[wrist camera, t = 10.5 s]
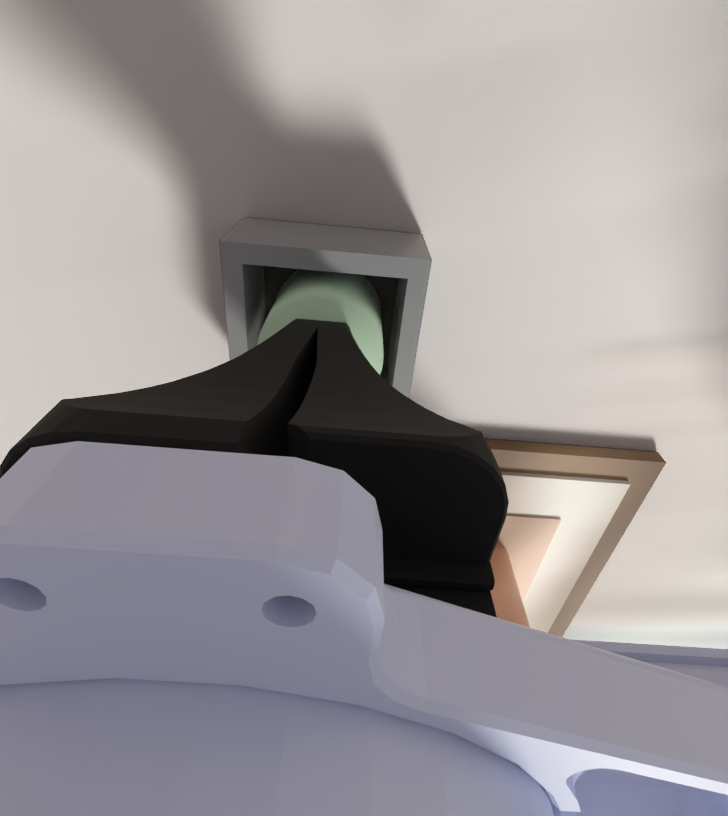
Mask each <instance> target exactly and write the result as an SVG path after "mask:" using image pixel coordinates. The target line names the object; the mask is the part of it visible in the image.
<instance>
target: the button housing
mask: <svg viewBox="0 0 728 816" xmlns="http://www.w3.org/2000/svg"><path fill="white" fill-rule="evenodd" d="M219 243H220V255H221V266H222V277H223V289H224V300H225V311H226V323H227V334H228V345H229V357H230V360H232V359H234V358H236V357H238V356H240V355H242V354H243V353H245V352H247V351H248V350H250V349H252V348H254V347H255V346H257V343H258V338H259V335H260V332H261V329H262V327H263V325H264V323H265V321H266V313H265V286H264V266H271V267H282V268H293V269H304V270H315V271H327V272H338V273H349V274H360V275H371V276H383V277H394V278H399V280H398V287H397V295H396V303H395V310H394V318H393V326H392V334H391V341H390V349H389V357H388V364H387V371H381V373H380V376H382V377H383V378H384V379H385V380H386V381H387V382H388V383H389V384H390V385H391V386H393V387H394V388H395V389H396V390H398V391H399V392H400V393H402V394H403V395H405V396H406V397H408V398H409V394H410V388H411V382H412V376H413V370H414V364H415V358H416V352H417V346H418V340H419V334H420V328H421V322H422V316H423V310H424V304H425V298H426V292H427V286H428V280H429V274H430V268H431V262H432V259H431V256H430V254H429V251H428V248H427V246H426V243H425V240H424V237H423V235H422V234H417V233H406V232H395V231H385V230H374V229H363V228H352V227H342V226H331V225H320V224H309V223H299V222H288V221H277V220H266V219H256V218H245V217H244V218H243V219H242V220H241V221H240V222H239V223H238V224H236V225H235V226H234V227H233V228H232V229H231V230H230V231H229V232H228V233H227V234H226V235H225V236H224V237H223V238H221V239H220V240H219Z"/></svg>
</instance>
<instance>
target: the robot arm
mask: <svg viewBox="0 0 728 816" xmlns="http://www.w3.org/2000/svg"><path fill="white" fill-rule="evenodd" d="M508 504H509V501H508V496H507V490H506V485H505V482H504V479H503V477H502V474H501V471H500V468H499V466H498V464H497V461H496V459H495V457H494V455H493V453H492V451H491V449H490V447H489V446H488V444H487V442H486V440H485V438H484V436H483V434H482V432H480V431H477V430H475V429H472V428H469V427H467V426H464V425H461V424H459V423H456V422H453V421H451V420H448V419H446V418H443V417H441V416H439V415H437V414H435V413H433V412H431V411H429V410H427V409H425V408H424V407H422V406H420V405H419V404H417V403H415V402H414V401H412V400H411V399H409V398H408V397H406V396H405V395H403V394H402V393H400V392H399V391H398V390H396V389H395V388H394V387H393V386H391V385H390V384H389V383H388V382H387V381H386V380H385V379H384V378H383V377H382V376H380V375H379V374H378V373H377V371H376V370H375V369H374V368H373V366H372V365H371V364H370V363H369V361H368V360H367V359H366V357H365V356H364V354H363V353H362V351H361V350H360V348H359V346H358V345H357V343H356V341H355V339H354V337H353V335H352V333H351V330H350V327H349V326H348V325H347V323H345V322H333V321H321V320H309V319H298V318H297V319H295V320H293V321H292V322H290V323H289V324H288V325H286V326H285V327H284V328H282V329H281V330H279V331H278V332H277V333H275V334H274V335H272V336H271V337H269V338H268V339H266V340H265V341H264V342H262V343H260V344H259V345H257V346H255V347H254V348H252V349H250V350H248V351H247V352H245V353H243V354H242V355H240V356H238V357H236V358H234V359H232V360H230V361H228V362H226V363H224V364H221V365H219V366H217V367H214V368H212V369H210V370H207V371H204V372H201V373H198V374H195V375H192V376H189V377H186V378H183V379H179V380H176V381H173V382H169V383H166V384H161V385H157V386H153V387H148V388H143V389H138V390H133V391H128V392H122V393H116V394H107V395H99V396H91V397H83V398H75V399H63V400H61V401H60V402H59V403H58V404H57V405H56V406H55V407H54V408H53V409H52V410H51V411H50V412H48V413H47V414H46V415H45V416H44V417H43V418H42V419H41V420H40V421H39V422H38V423H37V424H36V425H35V426H34V427H33V428H32V429H31V430H30V431H29V432H28V433H27V434H26V435H25V436H24V437H23V438H22V439H21V440H20V441H19V442H18V443H17V444H16V445H15V446H14V447H13V448H12V449H11V450H10V451H9V452H8V454H7V456H6V457H5V459H4V460H3V462H2V464H1V465H0V816H728V649H714V648H697V647H681V646H665V645H648V644H632V643H616V642H600V641H583V640H569V639H566V638H563V637H560V636H556V635H553V634H550V633H546V632H543V631H540V630H536V629H533V628H530V627H526V626H523V625H520V624H516V623H513V622H510V621H506V620H503V619H500V618H497V616H496V612H495V608H494V604H493V600H492V595H491V591H490V590H493V588H494V585H495V578H494V574H493V570H492V567H491V563H490V560H491V557H492V554H493V551H494V549H495V546H496V543H497V541H498V538H499V535H500V533H501V530H502V527H503V525H504V522H505V519H506V514H507V509H508Z"/></svg>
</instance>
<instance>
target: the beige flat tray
mask: <svg viewBox="0 0 728 816" xmlns="http://www.w3.org/2000/svg"><path fill="white" fill-rule="evenodd" d="M485 440H486V442H487V444H488V446H489V447H490V449H491V451H492V453H493V455H494V457H495V459H496V461H497V464H498V466H499V468H500V471H501V474H502V477H503V479H504V482H505V485H506V490H507V496H508V501H509V504H508V509H507V514H506V519H505V522H504V525H503V527H502V530H501V533H500V535H499V538H498V541H497V542H498V543H500V544H501V545H502V546H503V547H504V548H505V549H506V551H507V552H508V555H509V558H510V562H511V565H512V568H513V572H514V575H515V578H516V582H517V585H518V588H519V592H520V595H521V598H522V602H523V605H524V608H525V612H526V615H527V619H528V622H529V625H530V628H533V629H536V630H540V631H543V632H546V633H550V634H553V635H556V636H560V637H562V636H563V634H564V633H565V631H566V629H567V628H568V626H569V624H570V623H571V621H572V619H573V618H574V616H575V614H576V613H577V611H578V609H579V608H580V606H581V604H582V603H583V601H584V599H585V598H586V596H587V594H588V593H589V591H590V589H591V588H592V586H593V584H594V582H595V581H596V579H597V577H598V576H599V574H600V572H601V571H602V569H603V567H604V566H605V564H606V562H607V561H608V559H609V557H610V556H611V554H612V552H613V551H614V549H615V547H616V546H617V544H618V542H619V541H620V539H621V537H622V536H623V534H624V532H625V531H626V529H627V527H628V525H629V524H630V522H631V520H632V519H633V517H634V515H635V514H636V512H637V510H638V509H639V507H640V505H641V504H642V502H643V500H644V499H645V497H646V495H647V494H648V492H649V490H650V489H651V487H652V485H653V484H654V482H655V480H656V479H657V477H658V475H659V473H660V472H661V470H662V468H663V467H664V465H665V463H666V462H665V461H664V459H663V458H662V457H661V456H660V454H659V453H658V452H650V451H637V450H625V449H612V448H599V447H586V446H573V445H560V444H547V443H534V442H521V441H508V440H495V439H485Z"/></svg>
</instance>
